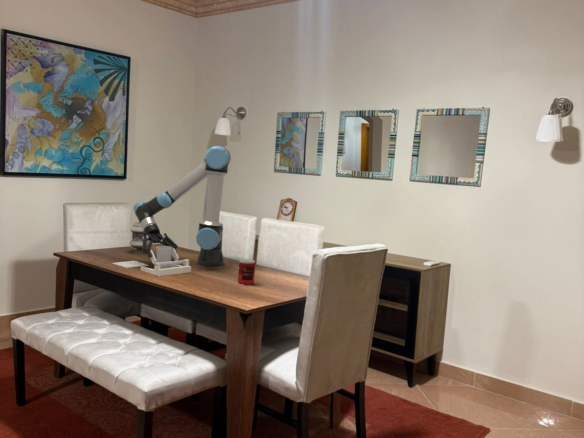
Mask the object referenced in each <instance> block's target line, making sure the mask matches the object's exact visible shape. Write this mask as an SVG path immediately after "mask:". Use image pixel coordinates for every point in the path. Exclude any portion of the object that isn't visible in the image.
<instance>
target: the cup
mask: <svg viewBox="0 0 584 438" xmlns="http://www.w3.org/2000/svg"><path fill="white" fill-rule="evenodd" d="M172 248H173V247H170V246H164V245H159V246H156V247H155V249H156V260H157V261H156V263H157V262H159V263H161V262H170V261H172V257H173V255H172ZM165 268H171V267H170V265H163V266H160V269H165Z"/></svg>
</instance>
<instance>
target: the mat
mask: <svg viewBox="0 0 584 438" xmlns="http://www.w3.org/2000/svg"><path fill="white" fill-rule="evenodd" d="M112 265H115V266H119V267H122V268H125V269H130V268H132V269H133V268H139V267H140V268H141V266H144V267H148V266H149V264H147V263H144V262H141V261H136V260H130V261H129V260H127V261H120V262H119V261H118V262H112Z"/></svg>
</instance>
